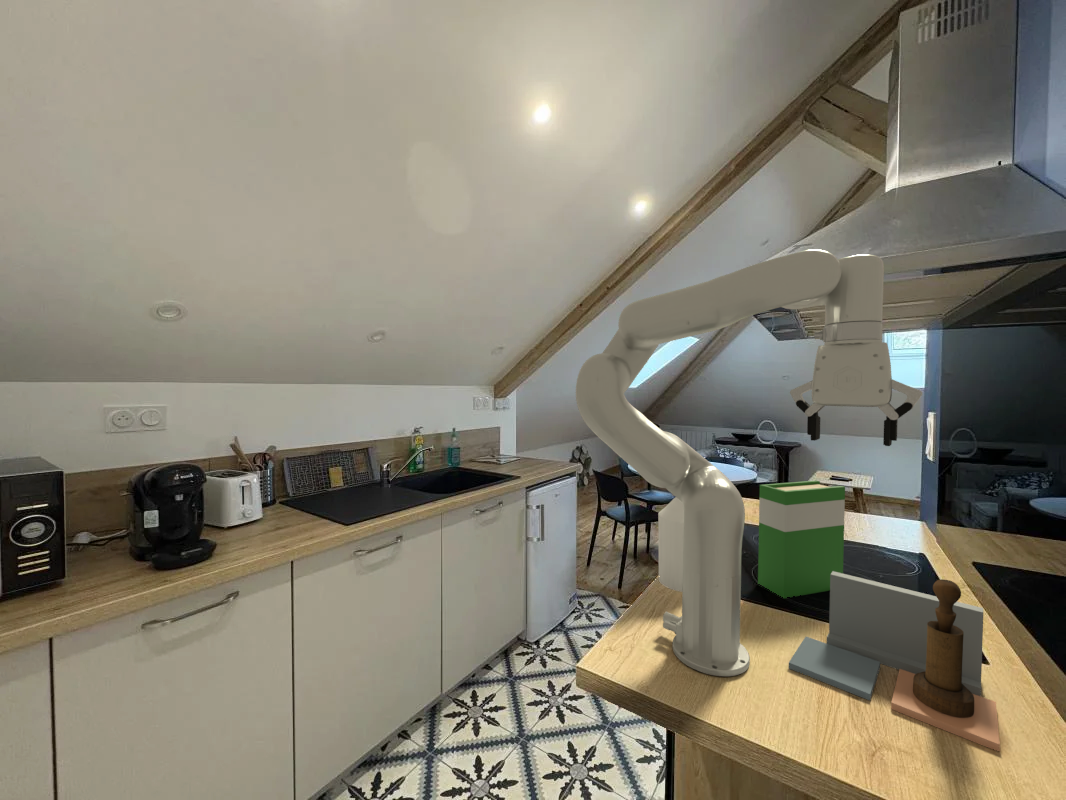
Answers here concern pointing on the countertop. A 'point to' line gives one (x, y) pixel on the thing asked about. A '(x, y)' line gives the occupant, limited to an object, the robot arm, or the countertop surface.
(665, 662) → the countertop surface
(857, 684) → the mat bluegrey
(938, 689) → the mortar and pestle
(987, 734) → the tile terracotta
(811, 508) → the hardback book
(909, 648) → the upright grey panel
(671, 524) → the bottle
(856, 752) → the countertop surface
